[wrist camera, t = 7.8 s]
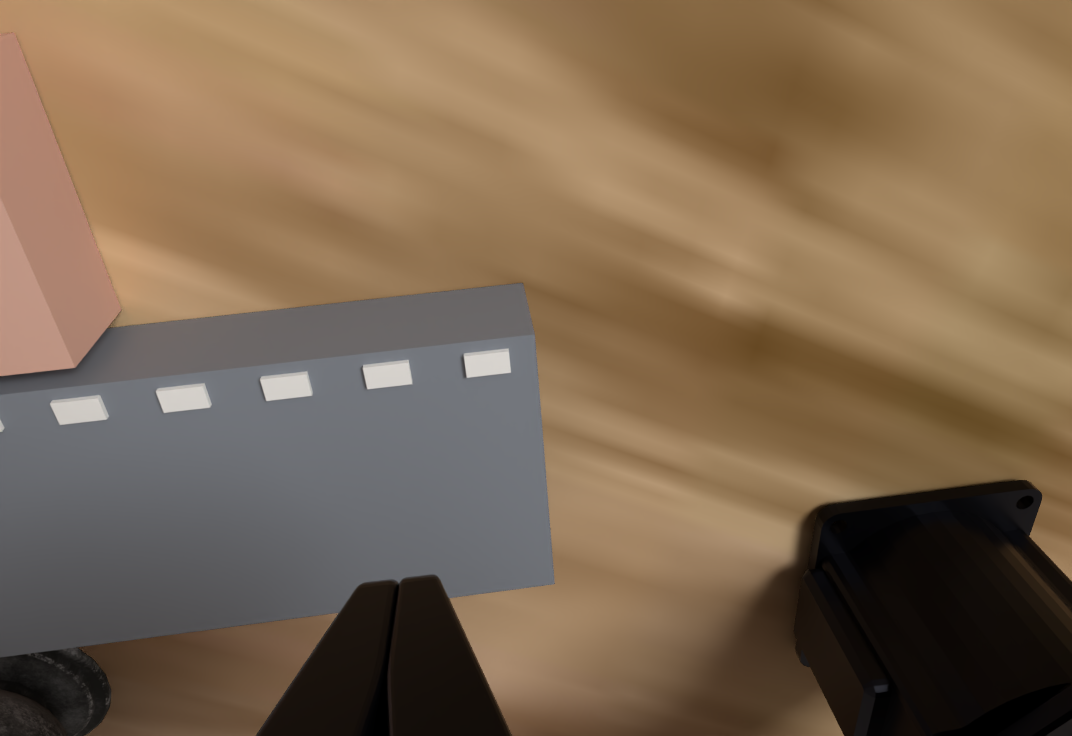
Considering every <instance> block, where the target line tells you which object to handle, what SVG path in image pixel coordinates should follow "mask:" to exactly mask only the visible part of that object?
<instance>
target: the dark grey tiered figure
mask: <svg viewBox="0 0 1072 736" xmlns="http://www.w3.org/2000/svg"><path fill="white" fill-rule="evenodd" d="M110 701H111V688H110V686H109V683H108V680H107V677H106V675H105V673H104V672H103V671H102V670H101V669H100V667H99V666H98V665H97V664H96V662H95V661H94V660H93V659H92V658H90V657H89V656H88V655H86V654H85V653H84V652H82V651H81V650H79V649H78V648H77V647H75V648H68V649H60V650H53V651H45V652H37V653H30V654H22V655H15V656H7V657H0V736H84V735H87V734H88V733H90V732H91V731H92V730H93V729H94V728H95V727H97V726H98V725H99V724H100V723H101V722H102V720H103V718H104V717H105V715H106V713H107V711H108V709H109V707H110Z"/></svg>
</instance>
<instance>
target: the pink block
mask: <svg viewBox="0 0 1072 736" xmlns="http://www.w3.org/2000/svg"><path fill="white" fill-rule="evenodd" d="M120 311H121V307H120V305H119V302H118V299H117V297H116V294H115V292H114V289H113V286H112V284H111V281H110V279H109V276H108V273H107V271H106V268H105V266H104V263H103V261H102V258H101V255H100V253H99V250H98V248H97V245H96V242H95V240H94V237H93V235H92V232H91V229H90V227H89V224H88V222H87V219H86V217H85V214H84V211H83V209H82V206H81V204H80V201H79V198H78V196H77V193H76V191H75V188H74V185H73V183H72V180H71V178H70V175H69V172H68V170H67V167H66V165H65V162H64V160H63V157H62V154H61V152H60V149H59V147H58V144H57V141H56V139H55V136H54V134H53V131H52V128H51V126H50V123H49V121H48V118H47V116H46V113H45V110H44V108H43V105H42V103H41V100H40V97H39V95H38V92H37V90H36V87H35V84H34V82H33V79H32V77H31V74H30V72H29V69H28V66H27V64H26V61H25V59H24V56H23V53H22V51H21V48H20V46H19V43H18V40H17V38H16V35H15V33H4V34H0V376H6V375H15V374H24V373H33V372H42V371H51V370H60V369H69V368H76V366H77V365H78V364H79V363H80V361H81V360H82V359H83V358H84V356H85V355H86V354H87V353H88V351H89V350H90V349H91V347H92V346H93V345H94V344H95V342H96V341H97V340H98V339H99V337H100V336H101V335H102V334H103V332H104V331H105V330H106V329H107V327H108V326H109V325H110V324H111V322H112V321H113V320H114V319H115V317H116V316H117V315H118V314H119V312H120Z"/></svg>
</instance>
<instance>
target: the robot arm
mask: <svg viewBox="0 0 1072 736" xmlns="http://www.w3.org/2000/svg"><path fill="white" fill-rule="evenodd" d="M1041 501H1042V494H1041V492H1040V491H1039V490H1038V489H1037V488H1036V487H1035V486H1034V485H1033V484H1032V483H1031V482H1029V481H1027V480H1017V481H1010V482H1002V483H994V484H986V485H979V486H971V487H963V488H955V489H948V490H940V491H932V492H924V493H917V494H909V495H901V496H893V497H886V498H878V499H870V500H862V501H855V502H847V503H839V504H833V505H829V506H827V507H825V508H824V509H822V510H821V511H820V512H819V513H818V514H817V517H816V519H815V525H814V531H813V538H812V544H811V551H810V557H809V563H808V570H806V572H805V573H804V575H803V577H802V579H801V585H800V592H799V598H798V605H797V612H796V618H795V625H794V635H795V637H796V639H797V641H796V647H795V650H796V653H797V655H798V658H799V660H800V662H801V663H802V664H803V665H804V666H807V667H811V669H812V671H813V673H814V675H815V677H816V679H817V681H818V683H819V685H820V688H821V690H822V692H823V694H824V696H825V698H826V700H827V702H828V704H829V706H830V708H831V710H832V712H833V714H834V716H835V718H836V720H837V722H838V724H839V726H840V728H841V730H842V732H843V734H844V736H1072V581H1071V580H1070V579H1069V578H1068V577H1067V576H1066V575H1065V574H1064V573H1063V572H1062V571H1061V570H1060V569H1059V568H1058V566H1057V565H1056V564H1055V563H1054V562H1053V561H1052V560H1051V559H1050V558H1049V557H1048V556H1047V555H1046V554H1045V553H1044V552H1043V551H1042V550H1041V549H1040V547H1039V546H1038V545H1037V544H1036V543H1035V542H1034V541H1033V540H1032V539H1031V538H1030V537H1029V535H1030V532H1031V529H1032V527H1033V524H1034V521H1035V518H1036V515H1037V512H1038V509H1039V507H1040V504H1041ZM838 520H839V521H838ZM835 521H837V522H836V523H834V522H835ZM256 736H512V734H511V732H510V730H509V728H508V725H507V723H506V721H505V719H504V717H503V715H502V712H501V710H500V708H499V706H498V704H497V702H496V699H495V697H494V695H493V693H492V691H491V689H490V686H489V684H488V682H487V680H486V678H485V676H484V673H483V671H482V669H481V667H480V665H479V663H478V660H477V658H476V656H475V654H474V652H473V650H472V647H471V645H470V643H469V641H468V639H467V637H466V634H465V632H464V630H463V628H462V626H461V624H460V621H459V619H458V617H457V615H456V613H455V610H454V608H453V606H452V604H451V602H450V600H449V597H448V595H447V593H446V591H445V589H444V587H443V584H442V582H441V580H440V578H439V577H438V576H437V575H435V574H430V575H421V576H413V577H405V578H403V579H402V580H401V581H400V583H398V581H396V580H394V579H387V580H379V581H371V582H364V583H361V584H360V585H358V586H357V587H356V589H355V590H354V591H353V593H352V594H351V596H350V597H349V599H348V600H347V602H346V603H345V605H344V606H343V608H342V609H341V611H340V612H339V614H338V615H337V617H336V618H335V619H334V621H333V622H332V624H331V625H330V627H329V628H328V630H327V631H326V633H325V634H324V636H323V637H322V639H321V640H320V642H319V643H318V645H317V646H316V648H315V649H314V650H313V652H312V653H311V655H310V656H309V658H308V659H307V661H306V662H305V664H304V665H303V667H302V668H301V670H300V671H299V673H298V674H297V676H296V677H295V679H294V680H293V681H292V683H291V684H290V686H289V687H288V689H287V690H286V692H285V693H284V695H283V696H282V698H281V699H280V701H279V702H278V704H277V705H276V707H275V708H274V710H273V711H272V712H271V714H270V715H269V717H268V718H267V720H266V721H265V723H264V724H263V726H262V727H261V729H260V730H259V732H258V733H257V735H256Z"/></svg>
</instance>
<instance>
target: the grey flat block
mask: <svg viewBox="0 0 1072 736" xmlns="http://www.w3.org/2000/svg"><path fill="white" fill-rule="evenodd" d="M430 574H435V575H437V576H438V577H439V578H440V580H441V582H442V584H443V587H444V589H445V591H446V593H447V595H448V597H449V598H453V597H461V596H468V595H476V594H483V593H491V592H498V591H506V590H514V589H521V588H529V587H536V586H544V585H551V584H555V583H554V570H553V558H552V545H551V532H550V520H549V507H548V495H547V482H546V470H545V457H544V445H543V432H542V419H541V407H540V394H539V382H538V369H537V357H536V344H535V333H534V329H533V325H532V320H531V316H530V312H529V307H528V303H527V298H526V294H525V290H524V285H523V283H517V284H508V285H499V286H490V287H481V288H472V289H462V290H453V291H444V292H435V293H426V294H417V295H407V296H398V297H389V298H380V299H371V300H362V301H353V302H343V303H334V304H325V305H316V306H307V307H298V308H288V309H279V310H270V311H261V312H252V313H243V314H233V315H224V316H215V317H206V318H197V319H188V320H179V321H169V322H160V323H151V324H142V325H133V326H124V327H114V328H107V329H106V330H105V331H104V332H103V334H102V335H101V336H100V337H99V339H98V340H97V341H96V342H95V344H94V345H93V346H92V347H91V349H90V350H89V351H88V353H87V354H86V355H85V356H84V358H83V359H82V360H81V361H80V363H79V364H78V365H77V366H76V368H69V369H60V370H51V371H42V372H33V373H24V374H15V375H6V376H0V657H7V656H15V655H22V654H30V653H37V652H45V651H53V650H60V649H68V648H75V647H83V646H90V645H98V644H105V643H113V642H121V641H128V640H136V639H143V638H151V637H158V636H166V635H173V634H181V633H189V632H196V631H204V630H211V629H219V628H226V627H234V626H241V625H249V624H257V623H264V622H272V621H279V620H287V619H294V618H302V617H310V616H317V615H325V614H332V613H339V612H340V611H341V609H342V608H343V606H344V605H345V603H346V602H347V600H348V599H349V597H350V596H351V594H352V593H353V591H354V590H355V589H356V587H357V586H358V585H360V584H361V583H364V582H371V581H379V580H387V579H394V580H396V581H398V583H400V581H401V580H402V579H403V578H405V577H413V576H421V575H430Z"/></svg>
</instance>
